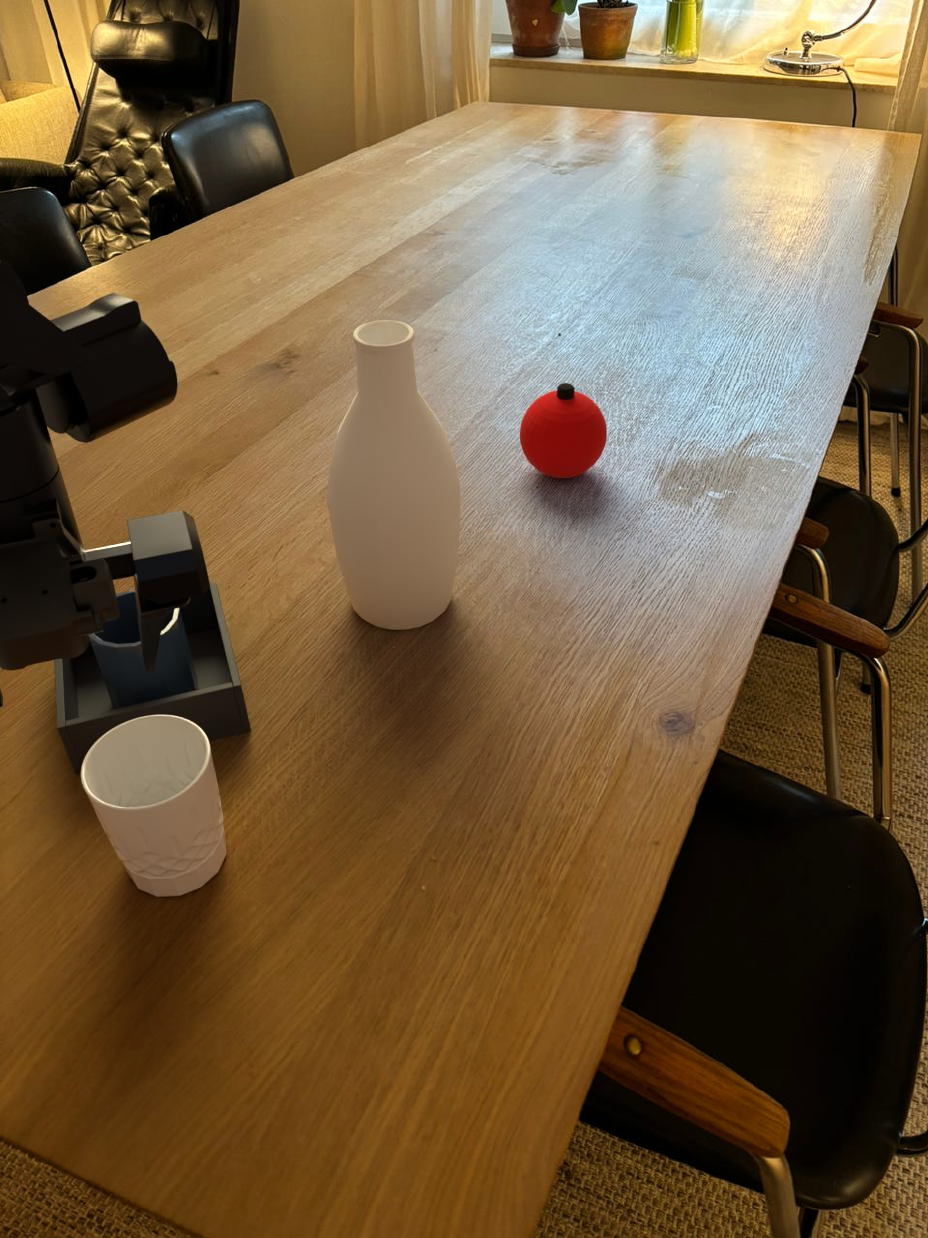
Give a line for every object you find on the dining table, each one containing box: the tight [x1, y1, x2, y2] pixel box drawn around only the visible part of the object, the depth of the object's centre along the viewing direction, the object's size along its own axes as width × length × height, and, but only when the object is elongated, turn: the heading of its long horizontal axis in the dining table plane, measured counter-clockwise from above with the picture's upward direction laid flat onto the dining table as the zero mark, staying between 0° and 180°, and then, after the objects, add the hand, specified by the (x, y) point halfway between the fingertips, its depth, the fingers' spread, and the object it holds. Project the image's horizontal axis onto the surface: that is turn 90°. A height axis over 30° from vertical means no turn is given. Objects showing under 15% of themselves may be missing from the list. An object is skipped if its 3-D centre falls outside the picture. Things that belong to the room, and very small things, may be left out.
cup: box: [88, 588, 198, 710], centre depth 77 cm, size 7×7×8 cm
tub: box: [53, 581, 252, 775], centre depth 79 cm, size 13×13×5 cm
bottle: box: [326, 319, 462, 631], centre depth 81 cm, size 11×11×25 cm
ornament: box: [519, 382, 608, 479], centre depth 102 cm, size 9×9×10 cm
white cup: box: [80, 715, 228, 898], centre depth 65 cm, size 8×8×10 cm
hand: (76, 686), depth 63 cm, fingers open, 9 cm apart
